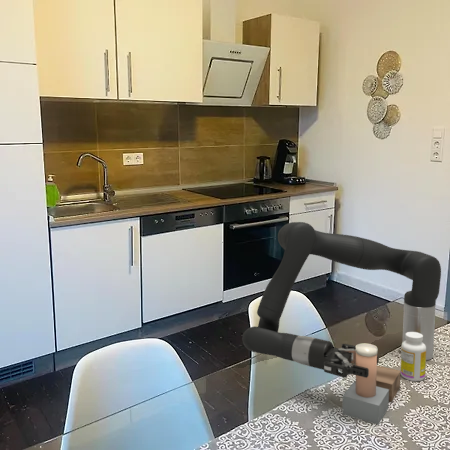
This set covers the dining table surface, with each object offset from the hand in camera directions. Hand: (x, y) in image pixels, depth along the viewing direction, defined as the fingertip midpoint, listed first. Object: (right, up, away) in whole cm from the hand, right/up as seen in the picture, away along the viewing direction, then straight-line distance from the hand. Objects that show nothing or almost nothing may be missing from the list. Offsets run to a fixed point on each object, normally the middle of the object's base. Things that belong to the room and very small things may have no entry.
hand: (373, 366), depth 118 cm
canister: (-1, -7, +2) cm, 8 cm away
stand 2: (+6, -10, +13) cm, 17 cm away
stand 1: (-1, -12, +3) cm, 13 cm away
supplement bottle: (+18, -9, +20) cm, 28 cm away
